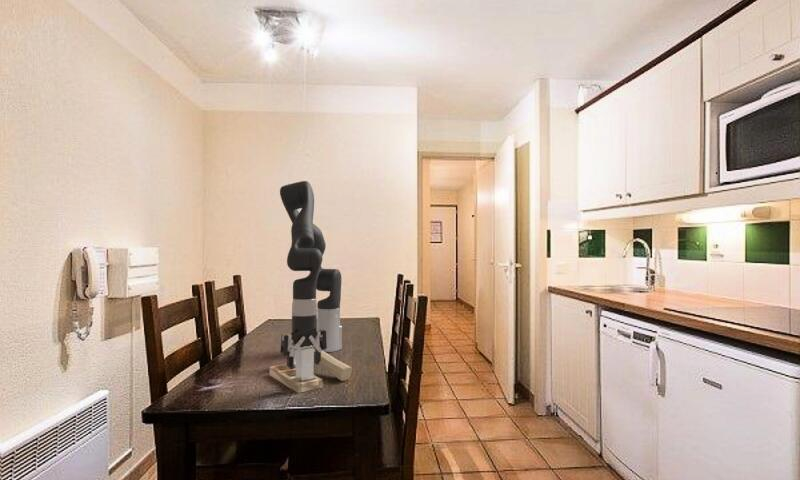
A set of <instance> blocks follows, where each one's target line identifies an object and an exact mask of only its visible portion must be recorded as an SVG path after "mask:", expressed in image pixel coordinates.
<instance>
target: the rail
mask: <svg viewBox="0 0 800 480" xmlns="http://www.w3.org/2000/svg"><path fill="white" fill-rule="evenodd" d="M269 376H270V377H272V378H273V379H274V380H276V381H278V382H280V383H281V384H282V385H285V386H286V387H288V388H289V389H291V390H292V391H295V392H296V393H298V394H300V393H304V392H309V391H315V390H318V389H323V383H324V382H323V381H324V380H323V378H320V376H319V377H318V376H316V375H315V374H314V380H311V381H306V382H301V383H300V382H298V381H297V380H296V365H295V364H294V368H293V369H290V368H289V367H288V366H287V363H284V364H279V365H273V366H269Z"/></svg>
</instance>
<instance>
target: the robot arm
mask: <svg viewBox="0 0 800 480" xmlns="http://www.w3.org/2000/svg"><path fill="white" fill-rule="evenodd" d="M279 196H280V199H281V202H282V205H283V207H284V208H285V211H286V213H287V215H288V217H289V220H290V221H291V223H292V225H291V228H290V229H291V230H290V234H291V246H290V249H289V251H288V253H287V258H286V265H287V267H288V268H289V270H291V271H293V272H309V274H308V275H307V276H305V277H302V278H298V279H295V280H294V281H293V283H292V304H291V333H288V334H286V333H283V334H281V336H280V337H281V340H280V351H279V352H280V354H281V355H283V356H286V364H287V366H288V367H289V368H290V369H293V368H294V357H293V355H294V353H295V351H297V350H298V348H299V347H305V346H310V345H311V346H312V347H313V348H314V350H315V351H314V365H318V364H319V362H320V361H321V351H322V350H323V351H324V352H326V353H331V352H337V351H339V350H342V348H343V347H342V345H343V329H342V328H343V326H342V325H341V299H342V298H341V297H342V273H341V271H340V270H339V269H337V268H323V267H322V263H323V255H324V253H325V251H326V248H327V247H326V241H325V238H324V235H323V232H322V231H321V229H320V227H318V226H317V225H316V224H315V223H314V222H313V221H314V212H315V211H314V210H315V195H314V191H313V188H312V185H311V183H310V182H309V181H306V180H301V181H297V182H293V183H288V184H285V185H283V186H281V187H280V189H279ZM299 209H300V211H299ZM317 291H319V292H329V296H327V297H326V298H322V299H319V300H318V301H317ZM290 339H292V340H293V342H292V343H291V345H290V347H289V349H288V346H289V341H290Z"/></svg>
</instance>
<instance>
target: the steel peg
mask: <svg viewBox="0 0 800 480" xmlns="http://www.w3.org/2000/svg"><path fill="white" fill-rule="evenodd" d="M314 366H315V363H314V348H312V347H310V346H305V347H299V348H298V350H297V351H296V380H297V381H298V382H300V383H301V382H306V381H311V380H314V375H315V373H314V372H315V371H314V370H315V368H314Z"/></svg>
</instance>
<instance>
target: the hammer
mask: <svg viewBox="0 0 800 480" xmlns="http://www.w3.org/2000/svg"><path fill="white" fill-rule="evenodd" d="M292 342H293V340H292V339H290V341H289V342H288V349H289V347H290V345H291V343H292ZM310 347H312V346H311V345H310ZM312 348H313V347H312ZM314 351H315V350H314ZM293 357H294V364H295V365H296V351H295V353H294V355H293ZM317 365H318V366H320V367H321V368H322V369H323V370H326V371H327V372H328V373H330V374H331V375H333V376H334V377H335V378H337V379H338V380H339V381H341V382H346V381H348V380H349V379H350V378H351V375H352V372H353V371H352V367H351V366H350V365H348V364H346V363H344V362H343V361H340V360H338V359H336V358H335V357H333V356H332V355H331V354H330V353H329V354H328V352H324V351H323V350H322V351H321V361H320V362H319V364H317Z"/></svg>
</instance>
